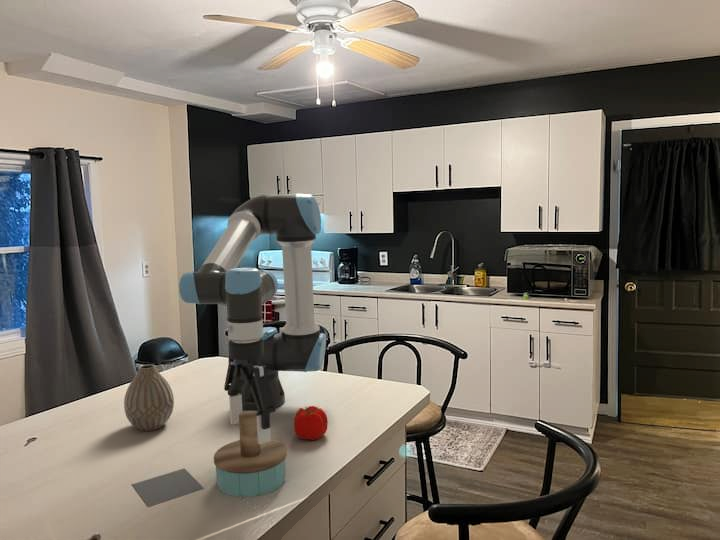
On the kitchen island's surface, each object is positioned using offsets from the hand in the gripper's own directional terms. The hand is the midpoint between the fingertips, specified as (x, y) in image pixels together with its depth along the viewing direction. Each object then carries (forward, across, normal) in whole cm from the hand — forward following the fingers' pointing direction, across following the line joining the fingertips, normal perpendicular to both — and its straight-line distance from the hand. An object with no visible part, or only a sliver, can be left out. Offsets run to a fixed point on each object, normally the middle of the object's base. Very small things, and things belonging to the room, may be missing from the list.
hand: (250, 432), depth 124 cm
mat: (+11, -9, -16) cm, 22 cm away
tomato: (+12, -12, +23) cm, 28 cm away
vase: (+12, -47, -8) cm, 49 cm away
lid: (+6, 0, 0) cm, 6 cm away
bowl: (+11, 0, 0) cm, 11 cm away
